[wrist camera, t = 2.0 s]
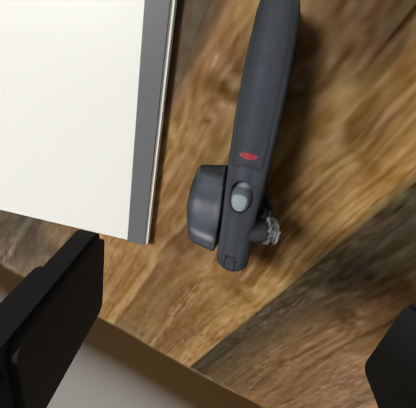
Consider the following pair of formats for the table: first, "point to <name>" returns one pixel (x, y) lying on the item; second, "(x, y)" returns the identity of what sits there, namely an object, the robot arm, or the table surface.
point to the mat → (84, 110)
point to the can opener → (248, 146)
